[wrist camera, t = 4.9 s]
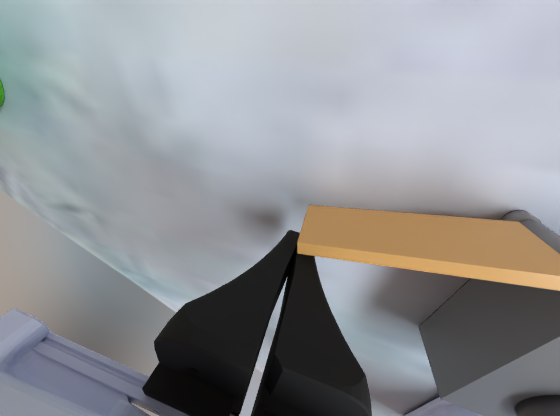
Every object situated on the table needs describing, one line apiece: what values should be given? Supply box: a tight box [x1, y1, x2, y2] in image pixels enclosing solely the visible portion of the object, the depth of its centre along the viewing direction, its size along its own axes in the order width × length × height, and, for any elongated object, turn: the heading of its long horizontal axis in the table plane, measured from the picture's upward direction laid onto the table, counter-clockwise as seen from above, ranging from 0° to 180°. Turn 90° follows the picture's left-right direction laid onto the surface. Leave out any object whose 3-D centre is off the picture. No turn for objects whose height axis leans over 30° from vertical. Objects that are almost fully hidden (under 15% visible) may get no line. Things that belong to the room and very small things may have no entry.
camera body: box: [419, 210, 560, 416], centre depth 10 cm, size 10×7×5 cm
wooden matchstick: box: [297, 205, 560, 291], centre depth 9 cm, size 10×1×3 cm, turn 93°
